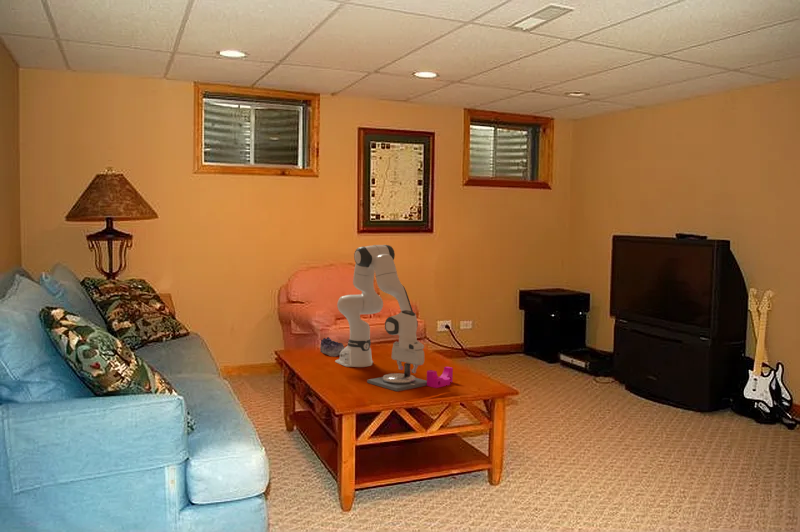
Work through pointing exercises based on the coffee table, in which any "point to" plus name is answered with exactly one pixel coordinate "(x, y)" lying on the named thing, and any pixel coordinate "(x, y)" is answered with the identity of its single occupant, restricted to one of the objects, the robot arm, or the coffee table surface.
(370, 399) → the coffee table surface
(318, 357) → the coffee table surface
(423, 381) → the dial plate
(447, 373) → the toy block
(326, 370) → the coffee table surface
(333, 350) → the geode
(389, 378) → the dial
